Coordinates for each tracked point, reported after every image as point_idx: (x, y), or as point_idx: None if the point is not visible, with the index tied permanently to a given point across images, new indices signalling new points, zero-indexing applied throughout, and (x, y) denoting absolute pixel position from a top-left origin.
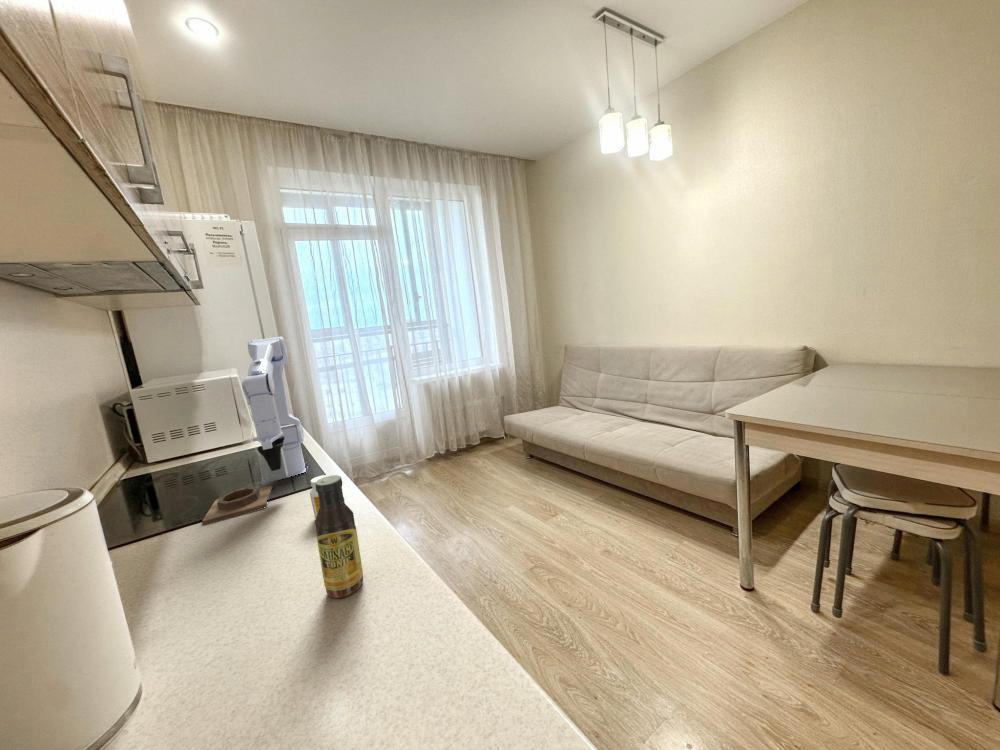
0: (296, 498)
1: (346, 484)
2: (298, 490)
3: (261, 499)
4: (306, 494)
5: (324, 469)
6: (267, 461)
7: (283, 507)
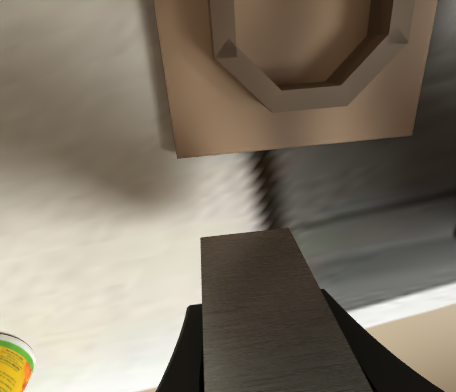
0: None
1: None
2: None
3: (250, 125)
4: None
5: (436, 292)
6: (165, 378)
7: (141, 220)
